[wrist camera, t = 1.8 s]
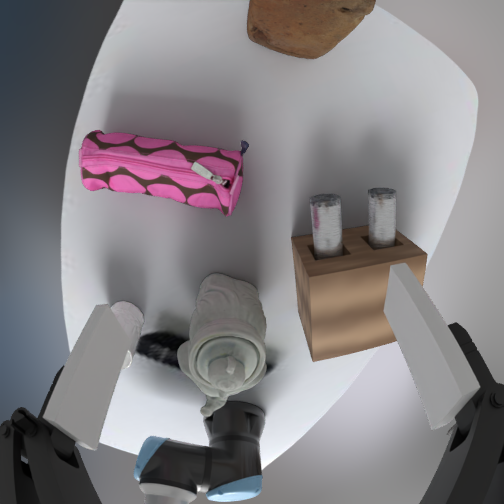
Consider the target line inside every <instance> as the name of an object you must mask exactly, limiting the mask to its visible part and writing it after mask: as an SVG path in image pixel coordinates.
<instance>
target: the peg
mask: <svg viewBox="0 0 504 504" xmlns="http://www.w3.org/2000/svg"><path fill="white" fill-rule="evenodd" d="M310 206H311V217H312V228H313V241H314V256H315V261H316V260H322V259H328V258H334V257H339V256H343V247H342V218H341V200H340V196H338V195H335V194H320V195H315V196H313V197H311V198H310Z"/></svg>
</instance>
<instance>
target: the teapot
mask: <svg viewBox="0 0 504 504" xmlns="http://www.w3.org/2000/svg"><path fill="white" fill-rule="evenodd" d="M265 332H266V318H265V316H264V312H263V310H262V304H261V302H260V300H259V294H258V291H257V289H256V288H255V287H254V286H253V285H252V284H250V283H248V282H245V281H242V280H237V279H233V278H231V277H229V276H226V275H223V274H218V273H214V274H211V275H209V276H208V277H206V278H205V279H204V280H203V282H202V283H201V286H200V290H199V294H198V297H197V299H196V309H195V310H194V313H193V315H192V318H191V323H190V328H189V336H190V340H188V341H186V342H185V343H183V344H182V345H181V346H180V347H179V349H178V352H177V358H178V362H179V366H180V368H181V370H182V371H183V373H185V374H186V375H187V376H188V377H189V378H190V379H191V380H192V381H193V382H194V383H195V384H196V385H197V386H198V388H199V389H200V390H201V391H202V392H203V393H204V394H206V398H207V402H206V405H205V406H203V407H202V408H201V410H200V411H201V414H202V415H203V416H206V417H208V416H211V415H212V413H213V412H214V411H215V410H217V409H219V408H221V407H222V406H224V404H225V403H226V401H227V399H228V396H230V395H234V394H238V393H239V392H241V391H244V390H247V389H249V388H251V387H253V386H255V385H256V384H258V383H259V382H260V381H261V379H262V378H263V377H264V375H265V372H266V368H267V366H266V363H265V358H266V349H265V343H264V338H265Z"/></svg>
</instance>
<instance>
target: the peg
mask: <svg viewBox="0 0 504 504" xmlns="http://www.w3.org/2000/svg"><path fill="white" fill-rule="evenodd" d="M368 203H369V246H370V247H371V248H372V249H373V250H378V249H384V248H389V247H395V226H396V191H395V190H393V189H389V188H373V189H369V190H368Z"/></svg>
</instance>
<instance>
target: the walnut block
mask: <svg viewBox="0 0 504 504" xmlns="http://www.w3.org/2000/svg"><path fill="white" fill-rule="evenodd" d="M291 240H292V249H293V259H294V269H295V279H296V290H297V301H298V313H299V316H300V319H301V323H302V326H303V330H304V333H305V336H306V340H307V343H308V347H309V350H310V354H311V357H312V361H313V362H315V361H320V360H325V359H329V358H334V357H338V356H343V355H347V354H351V353H355V352H359V351H363V350H367V349H371V348H374V347H378V346H381V345H385V344H389V343H392V342H395V341H397V339H396V337H395V335H394V333H393V331H392V328H391V326H390V324H389V322H388V320H387V318H386V315H385V313H384V305H385V299H386V293H387V287H388V280H389V273H390V266H391V265H395V264H401V263H406V264H407V265H408V267H409V268H410V270H411V271H412V272H413V274H414V275H415V277H416V278H417V279H418V281H419V282H420V284H421V285H422V287H423V281H424V275H425V269H426V262H427V253H426V252H424V251H423V250H422V249H421V248H419V247H418V246H417V245H416V244H414V243H413V242H412V241H410V240H409V239H408V238H407V237H405V236H404V235H403V234H401V233H400V232H399V231H397V230H396V229H395V247H389V248H384V249H378V250H373V249H372V248H371V247H370V246H369V225H368V226H362V227H355V228H349V229H342V247H343V256H339V257H334V258H328V259H322V260H316V261H315V256H314V241H313V234H310V235H304V236H297V237H291Z"/></svg>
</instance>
